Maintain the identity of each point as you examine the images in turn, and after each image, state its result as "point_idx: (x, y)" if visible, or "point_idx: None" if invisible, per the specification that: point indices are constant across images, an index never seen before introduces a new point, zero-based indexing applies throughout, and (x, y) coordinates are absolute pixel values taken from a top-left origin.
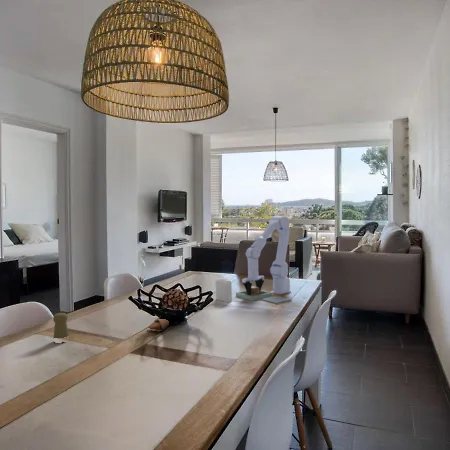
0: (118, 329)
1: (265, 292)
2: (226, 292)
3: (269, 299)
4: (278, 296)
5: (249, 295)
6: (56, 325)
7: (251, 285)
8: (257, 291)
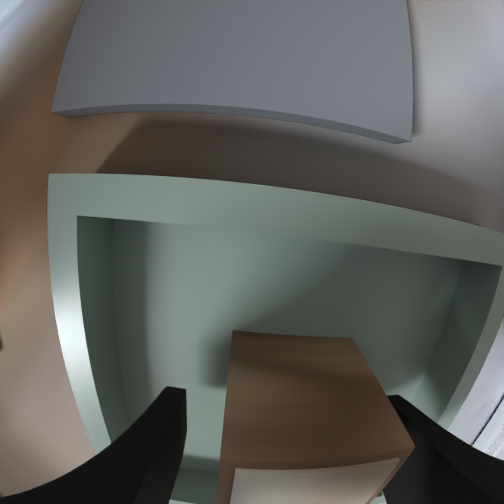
0: None
1: (89, 319)
2: None
3: (343, 16)
4: (78, 48)
5: (479, 340)
6: None
7: (488, 494)
8: (288, 397)
